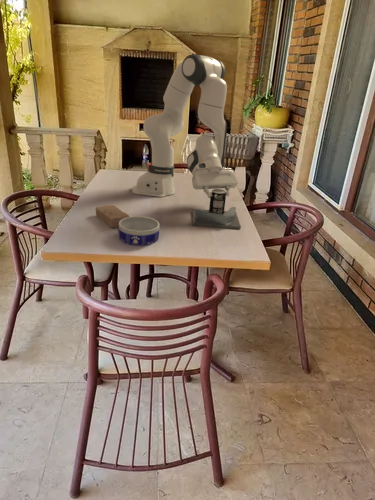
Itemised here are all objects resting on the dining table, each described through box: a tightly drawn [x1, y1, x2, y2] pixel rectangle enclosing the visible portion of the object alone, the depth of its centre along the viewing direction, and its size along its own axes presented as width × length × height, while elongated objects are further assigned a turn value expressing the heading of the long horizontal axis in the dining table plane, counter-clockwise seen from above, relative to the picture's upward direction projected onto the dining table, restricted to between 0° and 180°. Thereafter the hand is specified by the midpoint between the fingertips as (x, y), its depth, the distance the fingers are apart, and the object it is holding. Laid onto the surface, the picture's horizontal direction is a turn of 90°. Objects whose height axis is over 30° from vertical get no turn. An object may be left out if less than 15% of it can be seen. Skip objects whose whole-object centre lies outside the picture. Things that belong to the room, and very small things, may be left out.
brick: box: [95, 204, 130, 228], centre depth 157 cm, size 17×8×5 cm, turn 35°
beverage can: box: [208, 188, 227, 214], centre depth 164 cm, size 7×7×12 cm
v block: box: [192, 206, 242, 230], centre depth 166 cm, size 18×20×5 cm
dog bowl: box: [118, 215, 161, 247], centre depth 143 cm, size 15×15×6 cm
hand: (218, 196), depth 162 cm, fingers closed on beverage can, 7 cm apart
